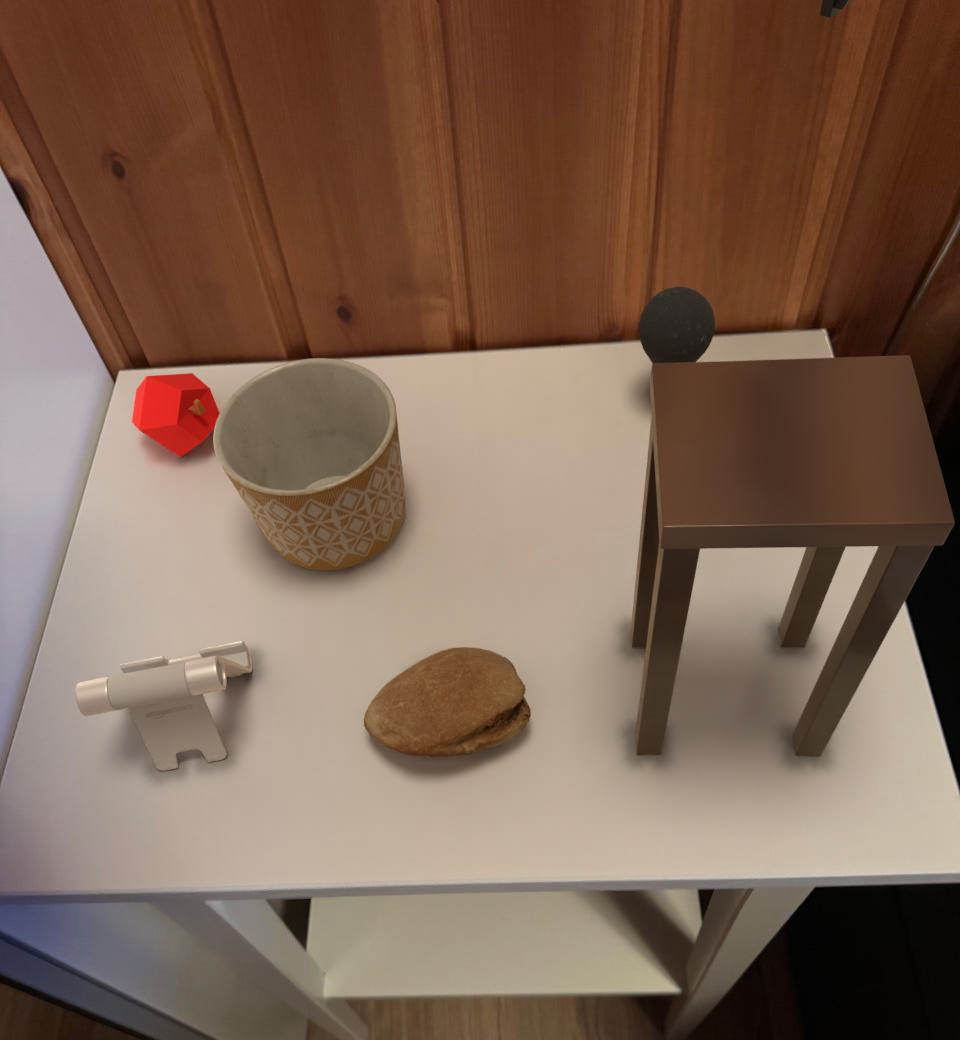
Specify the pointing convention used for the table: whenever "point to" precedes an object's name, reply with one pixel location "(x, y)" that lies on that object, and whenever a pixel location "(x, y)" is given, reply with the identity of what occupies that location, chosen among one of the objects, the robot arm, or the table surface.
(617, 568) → the table surface
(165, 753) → the tablet stand
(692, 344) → the light bulb
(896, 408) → the walnut stand
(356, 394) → the planter
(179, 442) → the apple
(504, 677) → the stone
